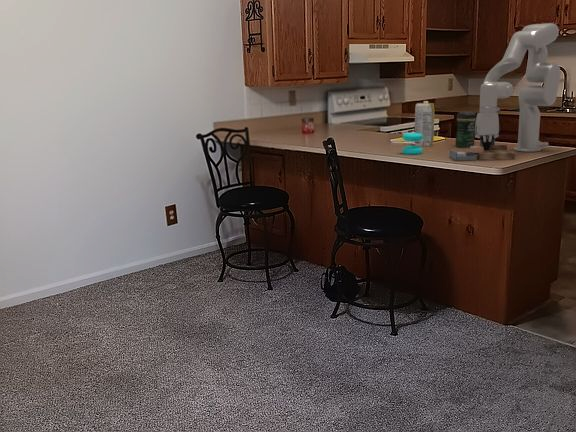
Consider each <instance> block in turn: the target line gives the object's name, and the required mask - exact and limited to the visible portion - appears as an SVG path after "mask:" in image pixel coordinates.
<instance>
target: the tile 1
mask: <svg viewBox="0 0 576 432" xmlns="http://www.w3.org/2000/svg"><path fill="white" fill-rule="evenodd" d="M456 152H457V157H465V156H466V153H465V152H464V151H456Z"/></svg>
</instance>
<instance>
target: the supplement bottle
mask: <svg viewBox="0 0 576 432" xmlns="http://www.w3.org/2000/svg"><path fill="white" fill-rule="evenodd" d="M487 137H488V135H486V141H487ZM479 141H480V143H479V146H483V141H482V140H481V139H480V138H479ZM495 141H496V138H493V139H492V140H491V142H490V145H496V144H495V143H496V142H495Z"/></svg>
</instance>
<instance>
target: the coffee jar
mask: <svg viewBox="0 0 576 432" xmlns="http://www.w3.org/2000/svg"><path fill="white" fill-rule="evenodd" d="M476 118H477V114H476V112H475V111H469V110H468V111H460V112H458V113H457V115H456V122H457V124H456V125H457V127H456V128H457V129H456V136H455V147H457V148H470V146H475V124H476Z"/></svg>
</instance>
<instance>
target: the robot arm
mask: <svg viewBox="0 0 576 432" xmlns="http://www.w3.org/2000/svg"><path fill="white" fill-rule="evenodd" d="M559 32H560V31H559V27H558V25H557V24H556V23H553V22H550V23H549V22H547V23H536V24H535V23H534V24H528V25H526V26H524V27H523V28H522V30H519V31H516V32H514V34H513V35H512V36H511V39H510V41H509V44H508V45H507V48H506V50H505V53H504V55H503V57H502V59H501V60H500V61H498V62H497V63H496V64H495V65H494V66H493V67H492V68H490V70H489V71H488V73H487V74H486V76H485V78H484V81H483V83H481V85H480V91H479V92H480V95H479V113H477V114H476V120H475V123H474V138H475V139H476V138H477V139H479V140H480V139H481V140H482V141H483V146H482V147H484V150H485V151H486V150H489V148H490V142H491V140H492V139H493V138H495V139H496V138H499V133H500V121H499V120H500V119H499V114H498V113H497V112H498V111H501V108H500V107H498V99H508V98H509V97H511V96H512V95H513V93H514V86H513V85H512V84H511V83H510V82H508V81H498V80H499V79H500V78H501V77H503V76H504V75H506V74H507V73H509V72H512V71H514V70H516V69H518V68H520V67H521V65H522V62H523V60H524V58H525V55H526V53H527V51H528V59H527V63H526V70H525V79H526V81H527V82H528V83H532V84H534V83H535V84H542V83H543V85H526V86H523V87H522V88H521V89H520V90H519V92H518V103H519V117H518V118H519V119H518V132H517V133H518V138H517V146H514V149H513V150H514V151H515V152H524V153H526V152H528V153H535V152H541V151H542V147H548V146H549V142H548V141H547V142H546V141H544V142H543V141H541V140H539V139H540V137H539V136H540V126H541V125H540V124H541V112H540V109H539V107H550V106H553V104H554V103H555V102H556V101H557V100H556V99H557V96H558V91H559V86H560V80H561V67H560V66H559V64H558V63H556V62H551V61H550V62H548V56H549V55H548V54H549V53H548V48H547V46H548V45H549V44H551V43H553V42H554V41H556V39H557V38H558V36H559ZM538 106H539V107H538ZM486 135H488V137H487V141H486Z"/></svg>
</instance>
